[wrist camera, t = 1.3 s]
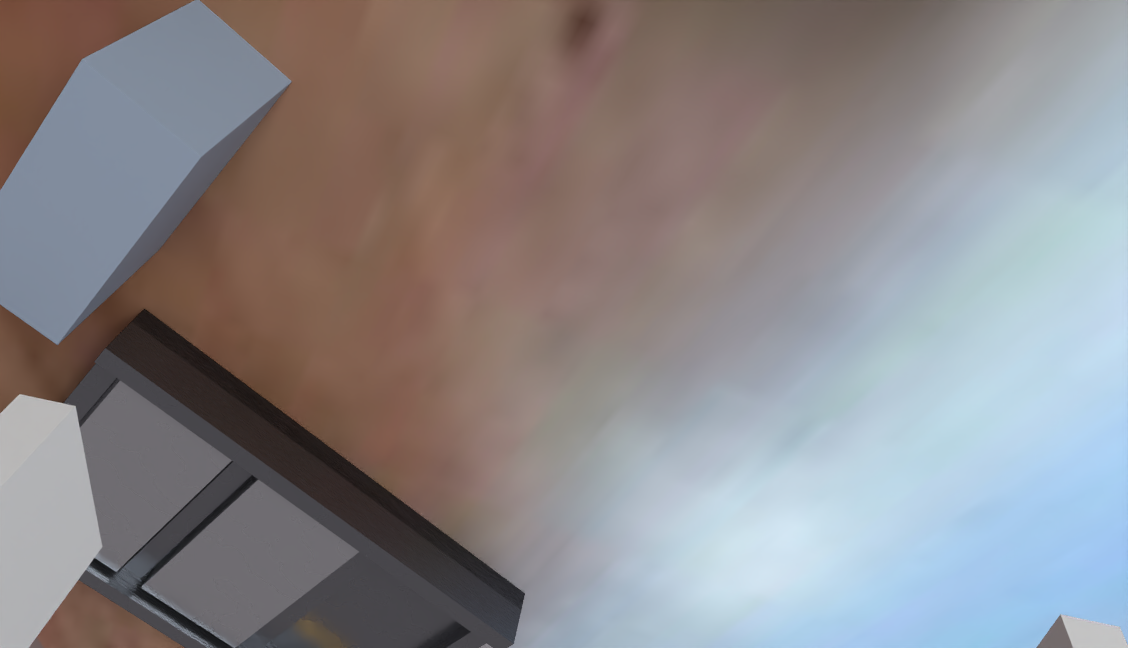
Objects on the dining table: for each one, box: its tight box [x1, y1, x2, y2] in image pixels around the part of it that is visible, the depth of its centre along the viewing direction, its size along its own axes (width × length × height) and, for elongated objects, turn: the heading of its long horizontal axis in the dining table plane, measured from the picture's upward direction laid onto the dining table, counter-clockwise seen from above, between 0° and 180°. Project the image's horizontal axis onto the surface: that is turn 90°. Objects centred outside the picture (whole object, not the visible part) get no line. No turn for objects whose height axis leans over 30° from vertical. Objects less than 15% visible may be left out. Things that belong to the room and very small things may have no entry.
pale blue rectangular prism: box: [0, 0, 292, 345], centre depth 32 cm, size 4×10×7 cm, turn 137°
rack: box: [63, 309, 525, 648], centre depth 44 cm, size 22×14×4 cm, turn 47°
